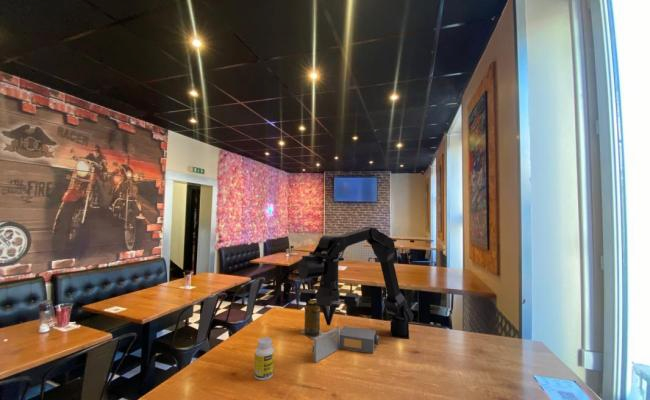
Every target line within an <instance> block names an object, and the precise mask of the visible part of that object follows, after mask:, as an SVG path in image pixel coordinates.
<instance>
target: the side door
mask: <svg viewBox="0 0 650 400" xmlns="http://www.w3.org/2000/svg"><path fill="white" fill-rule="evenodd" d="M311 351H312V353H313V362H314V363H318V362H319V361H321V360H322V359H324V358H326V357H327V356H330V355H331V354H333V353H335V352H336V351H339V350H338V329H337V327H334V328H331V329H330V330H329V331H326V332H324V334H322V335H320V336H318V337H316V338H313V345H312V350H311Z"/></svg>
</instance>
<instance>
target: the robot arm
mask: <svg viewBox="0 0 650 400" xmlns="http://www.w3.org/2000/svg"><path fill="white" fill-rule="evenodd" d="M364 241H366V242H367V244H369V245H370V246H371V248H372V251H373V254H374V255H375V256H376V258H377V259H378V260H379V263H380V268H381V271H382V277H383V282H384V285H385V290H386V294H387V295H386V297H385V299H384V300H383V304H384V310H385V311H386V313H387V315H388V317H389V318H390V317H391V320H390V333H391V336H392V337H394V338H395V337H396V338H402V339H410V330H409V328H410V327H409V326H410V324H409V323H412V321H413V320H414V316H415V315H414V313H413V312H412V311H411V309H410V308H409V305H408V302H407V299H406V298H405V296H404V295H403V294H402V293H401V290H400V286H399V280H398V277H397V272H396V267H395V263H394V255H395V252H396V247H395V246H396V245H395V240H394V239H393V238H392V237H390V236H388V235H387V234H385V233H383V232H382V231H380V230H379V229H378V228H376V227H374V226H364V227H363V228H359V229H356V230H353V231H350V232H346V233H343V234H337V235H336V234H335V235H332V234H331V235H323V236H321V237H319V240H318V244H317V245H316V247H315V248H314V250H313V252H312V254H311V255H302V256H301V260H300V261H299V263H298V265H297V271H298V275H299V276H300V278H301V279H302V280H306V279H312V278H313V279H314V278H320V280H319V286H318V288H317V290H315V289H311V288H310V289H309V288H305V289H303V290H302V291H301V292H300V293H299V295H298V302H300V303H306V302H307V303H308V302H309V301H310V300H316V305H317V306H319V309H320V310H321V311H322V313H323V316H324V320H325V323H326V326H331V324H332V320H333V317H334V315H335V313H336V309H339V308H340V307H341V305H342V303H343V304H344V305H345V306H346V307H349V308H350V307H351V308H358V306H359V303H360V295H359V293H357V292H346V293H345V294H344V295H343V294H341V293H340V288H339V262H342V261H344V260H345V258H344V257H343V256H341V253H343V252H344V251H345V250H346V248H348V247H350V246H353V245H355V244H358V243H361V242H364Z"/></svg>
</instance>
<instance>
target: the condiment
mask: <svg viewBox="0 0 650 400" xmlns="http://www.w3.org/2000/svg"><path fill="white" fill-rule="evenodd" d="M320 318H321V308H320V307H319V306H317V305H316V299H311V300H310V301H309V302H308V303H307V302H305V308H304V330H300V331H299V333H301V334H303V336H306V337H308V338H309V339H311V340H312V339H313V340H314V338H316V337H318V336H320V335H322V334H324V333H325V332H324V331H322V330H321V328H320V326H321V325H320V323H321V319H320Z"/></svg>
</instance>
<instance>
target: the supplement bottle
mask: <svg viewBox="0 0 650 400" xmlns="http://www.w3.org/2000/svg"><path fill="white" fill-rule="evenodd" d="M274 357H275V348H274V346H273V339H272V338H271V337H267V336H264V337H260V338H259V339H258V340H257V347H256V348H255V350H254V364H253V365H254V366H253V367H254V369H253V376H254V378H255V379H256V380H259V381H265V380H269V379H271V377H272V376H273V375H274V364H275V363H274V362H275V360H274V359H275V358H274Z"/></svg>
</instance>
